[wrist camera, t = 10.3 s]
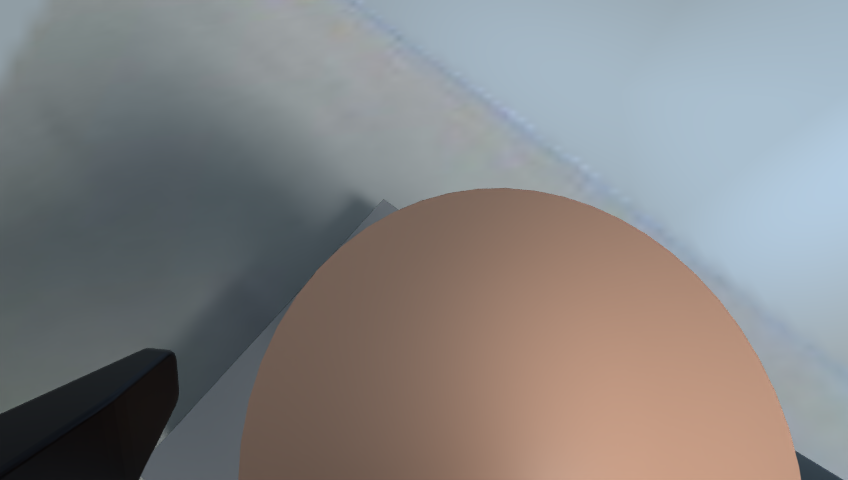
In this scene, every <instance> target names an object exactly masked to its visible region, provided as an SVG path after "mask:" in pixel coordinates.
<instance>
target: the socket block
mask: <svg viewBox="0 0 848 480" xmlns="http://www.w3.org/2000/svg"><path fill="white" fill-rule="evenodd" d="M395 211H398V209H397V208H395V207H394V206H392V205H391V204H390V203H388V202H387V201H385V200H384V199H383V200H382V201H381V202H380V203H379V204H378V206H377V207H376V208H375V209H374V210H373V211H372V212H371V213H370V214H369V215H368V217H367V218H366V219H365V220H364V221H363V222H362V223H361V224H360V225H359V226H358V227H357V229H356V230H355V231H354V232H353V233H352V234H351V235H350V236H349V237H348V238H347V240H346V241H345V242H344V243H343V244H342V245H341V246H343V245H344V244H345V243H347V242H348V241H349V240H351V239H352V238H353V237H355V236H356V235H357V234H359V233H360V232H361V231H363V230H364V229H365V228H367V227H368V226H370V225H372V224H374V223H375V222H377V221H379V220H381V219H382V218H384V217H386V216H388V215H389V214H391V213H393V212H395ZM341 246H340V247H341ZM340 247H339V248H340ZM339 248H338V249H339ZM338 249H337V250H338ZM337 250H336V251H337ZM305 285H306V284H305ZM301 290H302V289H301ZM301 290H300V291H301ZM300 291H299V292H300ZM299 292H298V293H299ZM298 293H297V294H296V295H295V296H294V298H293V299H292V300H291V301H290V302H289V303H288V304H287V305H286V306H285V307H284V309H283V310H282V311H281V312H280V313H279V314H278V315H277V316H276V317H275V318H274V319H273V321H272V322H271V323H270V324H269V325H268V326H267V327H266V328H265V329H264V330H263V332H262V333H261V334H260V335H259V336H258V337H257V338H256V339H255V340H254V341H253V342H252V344H251V345H250V346H249V347H248V348H247V349H246V350H245V351H244V352H243V353H242V355H241V356H240V357H239V358H238V359H237V360H236V361H235V362H234V363H233V364H232V365H231V367H230V368H229V369H228V370H227V371H226V372H225V373H224V374H223V375H222V376H221V378H220V379H219V380H218V381H217V382H216V383H215V384H214V385H213V386H212V387H211V388H210V390H209V391H208V392H207V393H206V394H205V395H204V396H203V397H202V398H201V399H200V401H199V402H198V403H197V404H196V405H195V406H194V407H193V408H192V409H191V410H190V411H189V413H188V414H187V415H186V416H185V417H184V418H183V419H182V420H181V421H180V422H179V424H178V425H177V426H176V427H175V428H174V429H173V430H172V431H171V432H170V433H169V434H168V436H167V437H166V438H165V439H164V440H163V441H162V442H161V443H160V444H159V445H158V447H157V448H156V449H155V450H154V451H153V452H152V454H151V456H150V458H149V460H148V462H147V464H146V466H145V468H144V470H143V472H142V474H141V477H142V478H143V479H144V480H238V476H239V462H240V447H241V439H242V433H243V428H244V423H245V418H246V413H247V407H248V402H249V398H250V395H251V392H252V389H253V386H254V383H255V380H256V376H257V373H258V370H259V367H260V364H261V361H262V359H263V357H264V355H265V352H266V350H267V348H268V346H269V344H270V342H271V339H272V337H273V335H274V333H275V331H276V328H277V326H278V325H279V323H280V322H281V320H282V318H283V317H284V315H285V314H286V312H287V310H288V309H289V307H290V305H291V304H292V302H293V301H294V299H295V297H296V296H297V295H298Z"/></svg>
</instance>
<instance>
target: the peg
mask: <svg viewBox="0 0 848 480" xmlns="http://www.w3.org/2000/svg"><path fill="white" fill-rule="evenodd" d="M238 480H801V476H800V470H799V465H798V461H797V457H796V453H795V449H794V446H793V442H792V438H791V434H790V430H789V427H788V424H787V422H786V419H785V416H784V414H783V411H782V408H781V406H780V403H779V400H778V398H777V395H776V392H775V390H774V388H773V386H772V384H771V382H770V380H769V378H768V376H767V374H766V372H765V370H764V368H763V366H762V364H761V362H760V359H759V358H758V356H757V354H756V353H755V351H754V349H753V348H752V346H751V345H750V343H749V341H748V340H747V338H746V336H745V335H744V333H743V332H742V330H741V328H740V327H739V325H738V324H737V323H736V321H735V320H734V319H733V317H732V316H731V315H730V314H729V312H728V311H727V310H726V308H725V307H724V306H723V304H722V303H721V302H720V300H719V299H718V298H717V297H716V296H715V295H714V294H713V293H712V291H711V290H710V289H709V288H708V287H707V286H706V285H705V284H704V283H703V282H702V281H701V280H700V278H699V277H698V276H697V275H696V274H695V273H694V272H693V271H691V270H690V269H689V268H688V267H687V266H686V265H685V264H684V263H682V262H681V261H680V260H679V259H678V258H677V257H676V256H675V255H674V254H672V253H671V252H670V251H669V250H667V249H666V248H664V247H663V246H662V245H660V244H659V243H658V242H656V241H655V240H653V239H652V238H651V237H649V236H648V235H647V234H645V233H643V232H642V231H640V230H638V229H636V228H635V227H633V226H631V225H630V224H628V223H626V222H624V221H623V220H621V219H619V218H617V217H615V216H613V215H611V214H608V213H606V212H604V211H602V210H599V209H597V208H595V207H593V206H590V205H587V204H584V203H581V202H578V201H575V200H572V199H569V198H566V197H562V196H557V195H553V194H548V193H543V192H538V191H531V190H520V189H509V188H495V189H474V190H467V191H460V192H453V193H448V194H444V195H441V196H437V197H433V198H430V199H426V200H422V201H419V202H417V203H415V204H412V205H410V206H407V207H405V208H402V209H400V210H398V211H395V212H393V213H391V214H389V215H388V216H386V217H384V218H382V219H381V220H379V221H377V222H375V223H374V224H372V225H370V226H368V227H367V228H365V229H364V230H363V231H361V232H360V233H359V234H357V235H356V236H355V237H353V238H352V239H351V240H349V241H348V242H347V243H345V244H344V245H343V246H341V247H340V248H339V249H338V250H337V251H336V252H335V253H334V254H333V255H332V256H331V257H330V258H329V259H328V260H327V261H326V262H325V263H324V264H323V265H322V266H321V267H320V268H319V269H318V270H317V271H316V272H315V273H314V275H313V276H312V277H311V278H310V280H309V281H308V282H307V283H306V285H305V286H304V287H303V288H302V290H301V291H300V292H299V293H298V295H297V296H296V297H295V299H294V301H293V302H292V304H291V305H290V307H289V309H288V310H287V312H286V314H285V315H284V317H283V318H282V320H281V322H280V323H279V325H278V326H277V328H276V331H275V333H274V335H273V337H272V339H271V342H270V344H269V346H268V348H267V350H266V352H265V355H264V357H263V359H262V361H261V364H260V367H259V370H258V373H257V376H256V380H255V383H254V386H253V389H252V392H251V395H250V398H249V402H248V407H247V413H246V418H245V423H244V428H243V433H242V439H241V447H240V462H239V476H238Z"/></svg>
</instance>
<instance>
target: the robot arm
mask: <svg viewBox="0 0 848 480" xmlns="http://www.w3.org/2000/svg"><path fill="white" fill-rule="evenodd" d="M178 396H179V384H178V372H177V360H176V356H175V354H174V352H172V351H171V350H164V349H155V348H146V349H143V350H141V351H138V352H136V353H134V354H132V355H130V356H127V357H125V358H123V359H121V360H119V361H116V362H114V363H112V364H110V365H108V366H105V367H103V368H101V369H99V370H97V371H94V372H92V373H90V374H88V375H85V376H83V377H81V378H79V379H77V380H74V381H72V382H70V383H68V384H66V385H63V386H61V387H59V388H57V389H55V390H52V391H50V392H48V393H46V394H44V395H41V396H39V397H37V398H35V399H32V400H30V401H28V402H26V403H24V404H21V405H19V406H17V407H15V408H13V409H10V410H8V411H6V412H4V413H2V414H0V480H139V479H140V476H141V474H142V472H143V470H144V468H145V466H146V464H147V462H148V460H149V458H150V456H151V454H152V452H153V450H154V448H155V446H156V444H157V442H158V440H159V438H160V436H161V434H162V432H163V430H164V428H165V426H166V424H167V422H168V420H169V418H170V416H171V414H172V412H173V410H174V408H175V406H176V403H177V400H178ZM795 453H796V457H797V461H798V465H799V470H800V476H801V480H843V479H841V478H839V477H838V476H836V475H834V474H833V473H831V472H829V471H828V470H826V469H825V468H823V467H821V466H820V465H818V464H816V463H815V462H813V461H811V460H810V459H808V458H806V457H805V456H803V455H801V454H800V453H798V452H797V451H795Z"/></svg>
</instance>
